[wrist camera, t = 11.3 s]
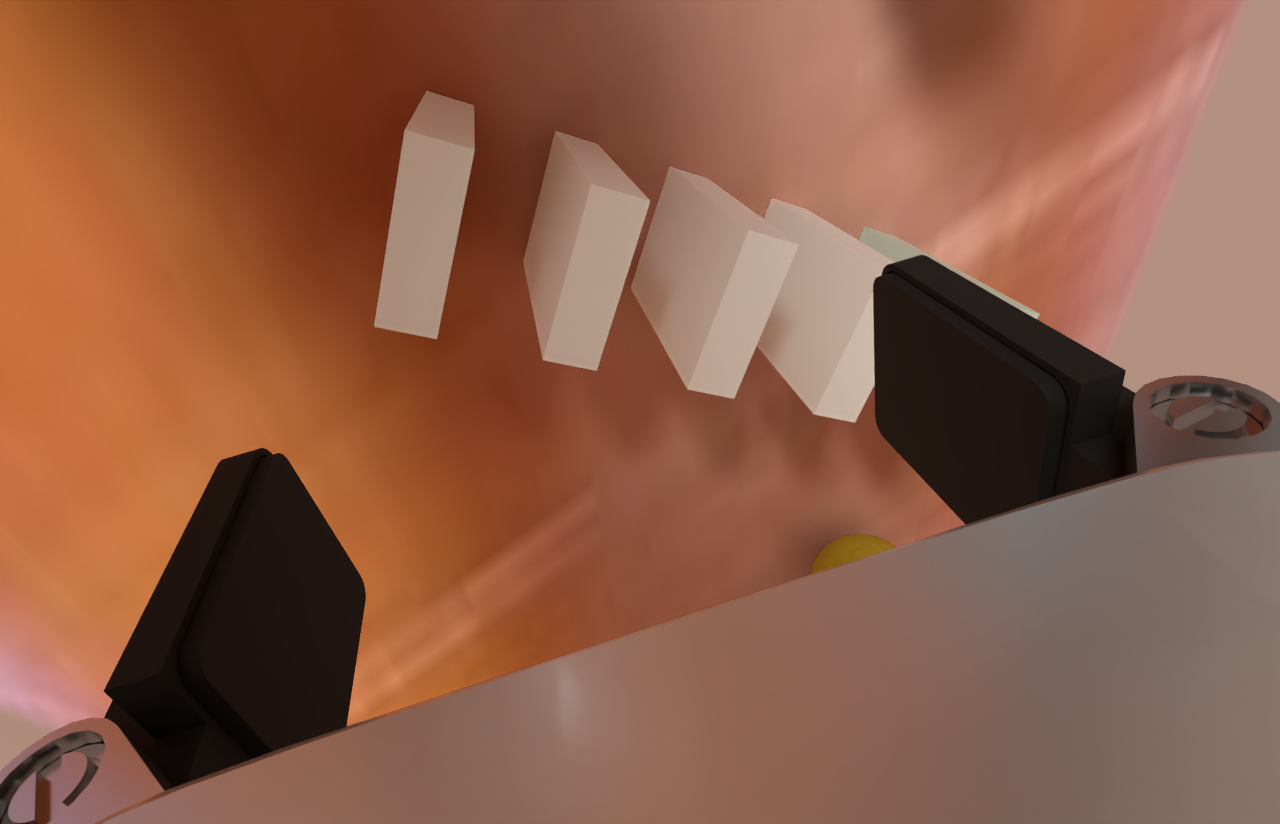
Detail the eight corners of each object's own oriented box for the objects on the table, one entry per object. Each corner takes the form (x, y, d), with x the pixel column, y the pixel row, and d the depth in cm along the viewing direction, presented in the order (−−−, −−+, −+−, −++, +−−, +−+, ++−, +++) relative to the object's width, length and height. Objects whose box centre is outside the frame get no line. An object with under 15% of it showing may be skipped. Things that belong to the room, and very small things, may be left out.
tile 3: (630, 287, 29) (687, 389, 21) (669, 166, 26) (748, 230, 19) (665, 296, 29) (734, 398, 21) (707, 177, 27) (799, 244, 19)
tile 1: (403, 232, 26) (373, 326, 18) (426, 90, 24) (404, 129, 16) (447, 243, 26) (436, 339, 19) (474, 105, 24) (474, 150, 16)
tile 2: (522, 261, 27) (542, 360, 19) (555, 130, 25) (591, 183, 17) (562, 271, 28) (596, 370, 20) (597, 143, 25) (650, 200, 18)
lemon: (768, 552, 38) (832, 671, 31) (847, 487, 37) (932, 596, 30) (822, 596, 40) (892, 714, 34) (898, 537, 39) (986, 647, 32)
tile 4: (727, 311, 30) (814, 414, 22) (772, 198, 28) (884, 269, 20) (759, 319, 31) (855, 422, 23) (805, 208, 28) (927, 281, 21)
